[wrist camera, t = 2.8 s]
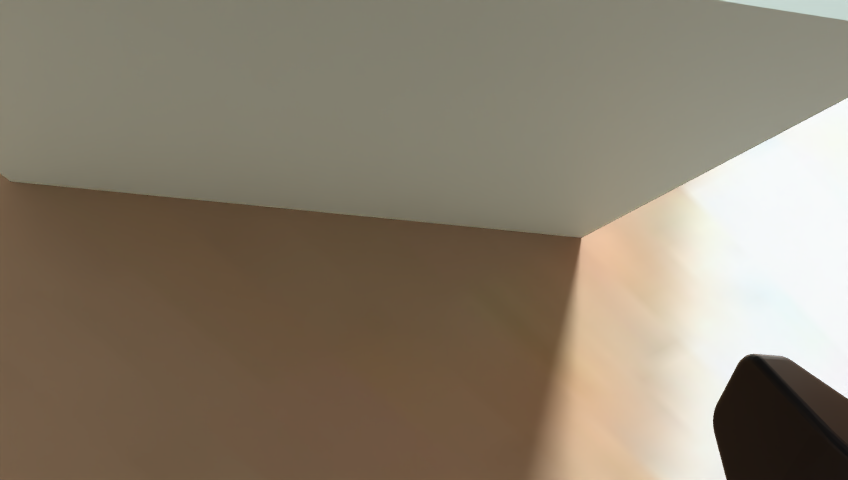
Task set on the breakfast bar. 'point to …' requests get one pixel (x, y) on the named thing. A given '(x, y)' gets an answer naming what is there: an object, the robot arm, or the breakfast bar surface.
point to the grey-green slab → (409, 100)
